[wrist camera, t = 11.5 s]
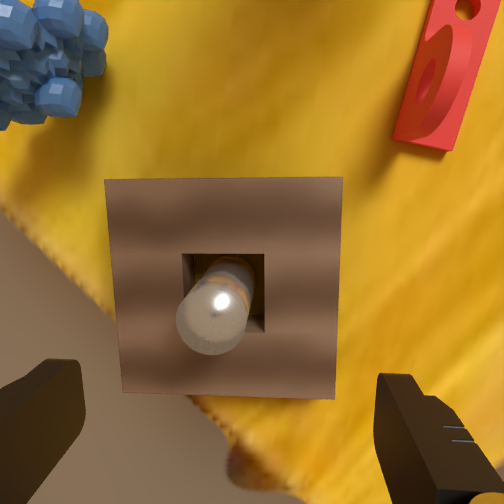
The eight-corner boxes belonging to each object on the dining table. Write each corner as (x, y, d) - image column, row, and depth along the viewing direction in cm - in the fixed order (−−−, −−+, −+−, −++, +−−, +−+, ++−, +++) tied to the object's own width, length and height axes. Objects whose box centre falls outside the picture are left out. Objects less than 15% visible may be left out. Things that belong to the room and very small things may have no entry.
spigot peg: (205, 255, 33) (173, 288, 24) (255, 255, 33) (244, 289, 23) (207, 303, 34) (177, 354, 24) (256, 304, 34) (246, 355, 24)
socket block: (125, 179, 32) (104, 179, 29) (335, 176, 31) (342, 176, 27) (140, 369, 36) (122, 392, 32) (328, 374, 35) (334, 399, 31)
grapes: (68, 174, 33) (-51, 172, 21) (12, 114, 32) (-142, 78, 20) (161, 78, 31) (86, 17, 19) (103, 11, 30) (-11, -95, 18)
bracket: (446, 151, 30) (503, 143, 22) (391, 139, 30) (428, 127, 23) (498, -12, 28) (582, -85, 20) (438, -24, 28) (498, -102, 20)
